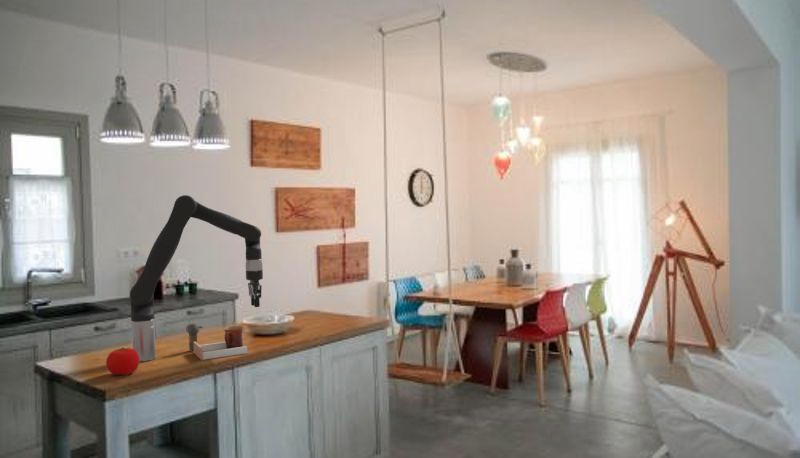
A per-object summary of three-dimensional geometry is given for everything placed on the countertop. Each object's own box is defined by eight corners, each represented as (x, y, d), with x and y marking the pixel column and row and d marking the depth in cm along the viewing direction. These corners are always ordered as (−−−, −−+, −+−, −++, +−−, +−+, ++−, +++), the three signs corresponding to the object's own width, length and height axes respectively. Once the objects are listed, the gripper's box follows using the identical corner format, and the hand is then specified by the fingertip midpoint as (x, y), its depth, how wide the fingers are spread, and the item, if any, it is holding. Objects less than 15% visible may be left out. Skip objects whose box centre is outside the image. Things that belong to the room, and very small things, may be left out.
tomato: (145, 369, 240) (144, 344, 240) (129, 378, 228) (128, 351, 228) (118, 370, 241) (117, 344, 240) (101, 378, 229) (99, 351, 228)
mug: (230, 347, 275) (229, 325, 274) (247, 348, 273) (247, 326, 273) (217, 354, 263) (216, 331, 263) (235, 354, 261) (234, 331, 261)
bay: (201, 360, 254) (200, 348, 253) (193, 352, 267) (193, 341, 267) (247, 353, 264) (247, 342, 263) (238, 346, 277) (238, 335, 277)
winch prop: (188, 352, 268) (187, 325, 267) (186, 350, 272) (185, 323, 271) (204, 350, 271) (203, 323, 271) (202, 348, 275) (201, 321, 275)
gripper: (241, 268, 277) (243, 305, 277) (250, 271, 264) (251, 309, 265) (257, 267, 280) (258, 303, 281) (266, 269, 268) (268, 307, 269)
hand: (255, 306), depth 273 cm, fingers open, 4 cm apart
